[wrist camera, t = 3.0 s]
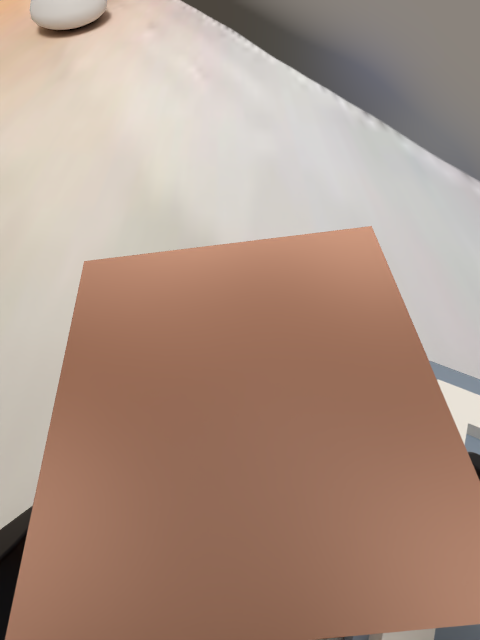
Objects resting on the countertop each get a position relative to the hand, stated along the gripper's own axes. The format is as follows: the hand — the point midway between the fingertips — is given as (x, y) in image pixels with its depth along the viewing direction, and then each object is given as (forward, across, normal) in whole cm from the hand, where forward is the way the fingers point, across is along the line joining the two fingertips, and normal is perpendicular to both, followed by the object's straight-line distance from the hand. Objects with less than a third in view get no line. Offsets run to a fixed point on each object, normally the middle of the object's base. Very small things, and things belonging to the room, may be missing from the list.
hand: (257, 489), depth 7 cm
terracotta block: (+7, 0, +6) cm, 9 cm away
